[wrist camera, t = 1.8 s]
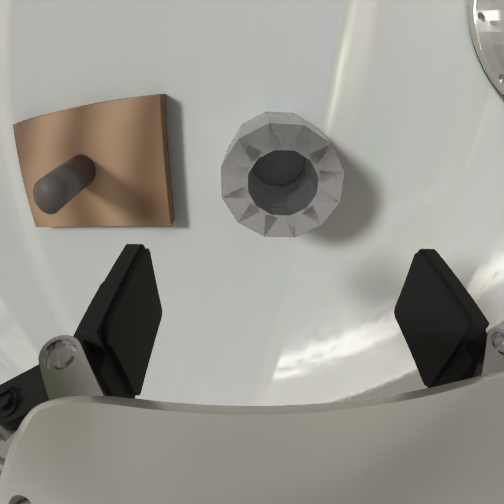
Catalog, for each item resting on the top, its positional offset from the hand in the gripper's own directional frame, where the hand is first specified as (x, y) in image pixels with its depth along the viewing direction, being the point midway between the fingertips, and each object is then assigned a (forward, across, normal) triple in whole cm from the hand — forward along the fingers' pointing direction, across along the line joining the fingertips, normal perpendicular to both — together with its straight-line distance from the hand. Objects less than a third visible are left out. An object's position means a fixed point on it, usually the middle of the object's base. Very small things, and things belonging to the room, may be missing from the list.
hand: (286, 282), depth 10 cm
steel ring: (+13, -1, 0) cm, 13 cm away
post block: (+14, +14, 0) cm, 20 cm away
